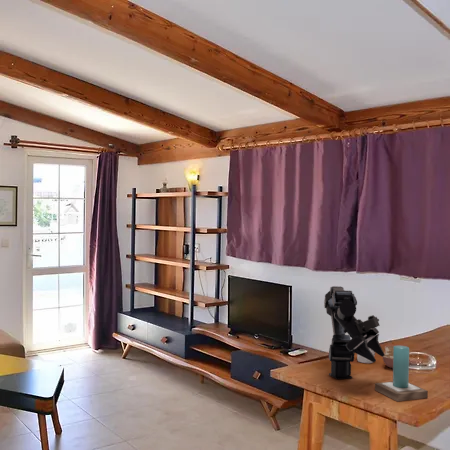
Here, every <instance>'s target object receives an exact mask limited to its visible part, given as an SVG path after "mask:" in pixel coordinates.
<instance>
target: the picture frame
mask: <svg viewBox="0 0 450 450" xmlns="http://www.w3.org/2000/svg"><path fill="white" fill-rule="evenodd" d="M374 391H376V392H378V393H379V394H382V395H384V396H386V397H387V398H389V399H391V400H393V401H396V402H405V401H406V402H407V401H412V400H420V399H427V398H428V397H429V396H428V390H426V389H425V388H422V387H419V386H417V385H415V384H413V383H410V382H409V386H408V388H398V387H395V386H393V381H387V382H376V383H374Z"/></svg>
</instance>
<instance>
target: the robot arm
mask: <svg viewBox="0 0 450 450" xmlns="http://www.w3.org/2000/svg"><path fill="white" fill-rule="evenodd" d="M323 303H324V305H323V307H324V309H325V311H326V314H327V315H329V316H330V318H331V325H332V333H333V335H332V339H331V344H329V349H328V359H329V362H330V364H331V365H330V368H331V369H330V373H328V375H329V376H330V377H331V378H334V379H336V380H344V379H345V380H346V379H353V376H352V363H353V362H354V361H355V354H356V355H357V354H358V355H360V356H362V357H364V358H366V359H368V360H370V361H372V362H373V363H375V362H376V361H377V359H376V358H375V356H373V354H372V353H371V351H370V350H369V348H370V349H371V350H373V351H374V352H375V354H377V355H379V356H380V357H382V358H383V356H384V355H385V354H384V353H385V351H384V350H383V349H382V346H381V344H380V342H379V336H380V331H379V330H378V329H377V327H380V323H379V321H380V319H379V318H378V317H377V316H375V315H369V316H368V317H367V319H366V320H364V321H363V320H362V319H360V318H359V319H357V318H356V316H355V314H356V312H357V305H358V301H357V297H356V296H355V293H353V291H352V290H345V289H344V287H343V286H338V285H337V286H336V285H334V286H330V288H329V291H328V292H327V293H326V294H324V301H323Z"/></svg>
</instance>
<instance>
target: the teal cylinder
mask: <svg viewBox="0 0 450 450" xmlns="http://www.w3.org/2000/svg"><path fill="white" fill-rule="evenodd" d="M393 346H394V351H393V369H392V382H393V386H395V387H398V388H408V386H409V383H410V381H409V378H410V377H409V376H410V374H409V373H410V347H409V346H406V345H393Z"/></svg>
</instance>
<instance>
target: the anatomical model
mask: <svg viewBox="0 0 450 450" xmlns="http://www.w3.org/2000/svg"><path fill="white" fill-rule="evenodd" d="M394 346H395V345H385V346H384V354H385V355H384V356H383V357H382V360H383V363H384V364H385V366H387V367H388V368H390V369H392V370H393V351H394Z"/></svg>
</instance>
